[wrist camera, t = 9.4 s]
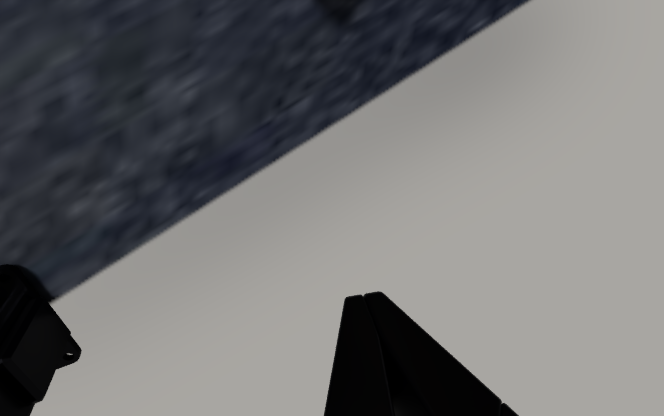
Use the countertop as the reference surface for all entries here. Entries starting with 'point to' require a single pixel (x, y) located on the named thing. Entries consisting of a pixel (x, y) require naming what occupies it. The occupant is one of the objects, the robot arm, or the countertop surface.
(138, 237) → the countertop surface
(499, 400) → the robot arm
